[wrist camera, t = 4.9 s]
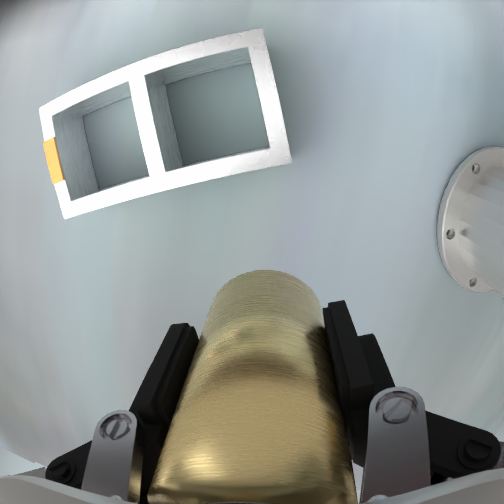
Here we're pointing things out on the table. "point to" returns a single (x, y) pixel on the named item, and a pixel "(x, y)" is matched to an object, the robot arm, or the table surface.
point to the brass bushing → (258, 405)
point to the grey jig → (157, 123)
